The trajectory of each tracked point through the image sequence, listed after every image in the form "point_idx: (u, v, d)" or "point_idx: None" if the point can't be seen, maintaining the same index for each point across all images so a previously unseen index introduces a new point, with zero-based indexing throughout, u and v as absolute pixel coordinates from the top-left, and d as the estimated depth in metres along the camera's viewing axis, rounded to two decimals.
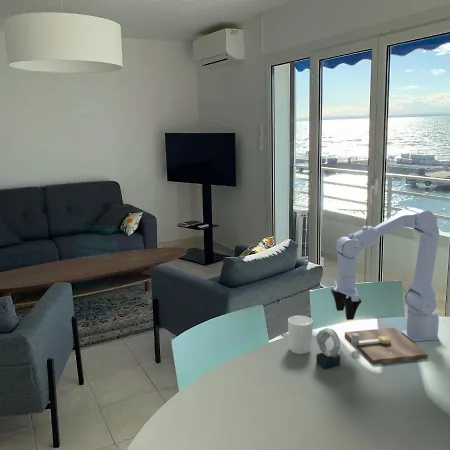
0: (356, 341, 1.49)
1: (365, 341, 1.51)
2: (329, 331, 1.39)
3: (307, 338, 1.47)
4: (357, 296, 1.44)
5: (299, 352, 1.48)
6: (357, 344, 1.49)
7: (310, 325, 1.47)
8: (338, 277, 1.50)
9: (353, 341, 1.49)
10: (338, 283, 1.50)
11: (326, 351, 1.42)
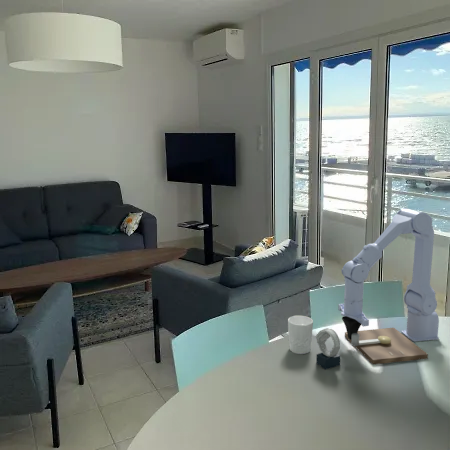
0: (356, 341, 1.49)
1: (365, 341, 1.51)
2: (329, 331, 1.39)
3: (307, 338, 1.47)
4: (367, 321, 1.44)
5: (299, 352, 1.48)
6: (357, 344, 1.49)
7: (310, 325, 1.47)
8: (346, 302, 1.49)
9: (353, 341, 1.49)
10: (346, 308, 1.49)
11: (326, 351, 1.42)
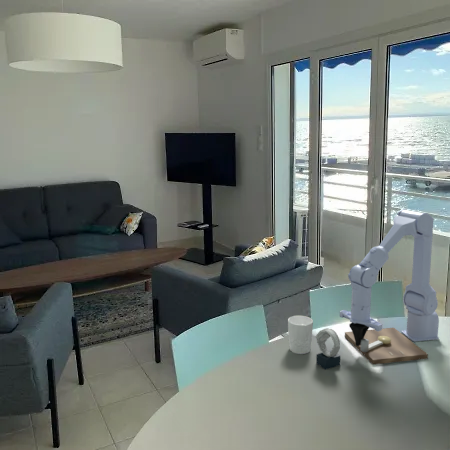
0: (367, 347, 1.45)
1: (371, 345, 1.48)
2: (329, 331, 1.39)
3: (307, 338, 1.47)
4: (381, 325, 1.41)
5: (299, 352, 1.48)
6: (368, 349, 1.45)
7: (310, 325, 1.47)
8: (356, 308, 1.43)
9: (364, 347, 1.45)
10: (356, 314, 1.44)
11: (326, 351, 1.42)
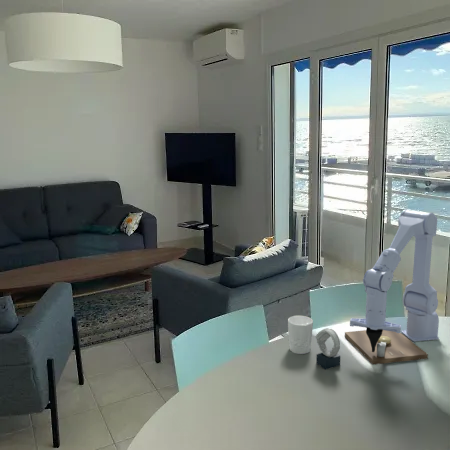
0: (384, 351, 1.42)
1: None
2: (329, 331, 1.39)
3: (307, 338, 1.47)
4: (400, 326, 1.40)
5: (299, 352, 1.48)
6: (384, 353, 1.43)
7: (310, 325, 1.47)
8: (376, 314, 1.38)
9: (382, 352, 1.42)
10: (376, 320, 1.39)
11: (326, 351, 1.42)
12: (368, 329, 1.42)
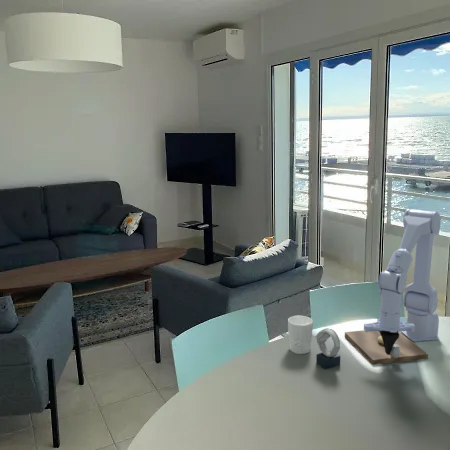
0: None
1: None
2: (329, 331, 1.39)
3: (307, 338, 1.47)
4: None
5: (299, 352, 1.48)
6: None
7: (310, 325, 1.47)
8: (394, 316, 1.37)
9: (398, 353, 1.41)
10: (394, 322, 1.37)
11: (326, 351, 1.42)
12: (384, 332, 1.40)
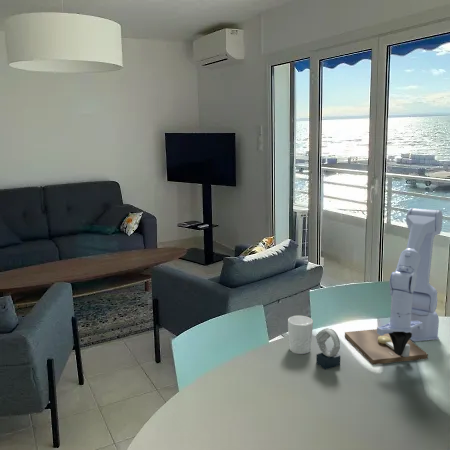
0: None
1: None
2: (329, 331, 1.39)
3: (307, 338, 1.47)
4: None
5: (299, 352, 1.48)
6: None
7: (310, 325, 1.47)
8: (408, 316, 1.37)
9: (409, 351, 1.42)
10: (407, 322, 1.37)
11: (326, 351, 1.42)
12: (397, 333, 1.39)
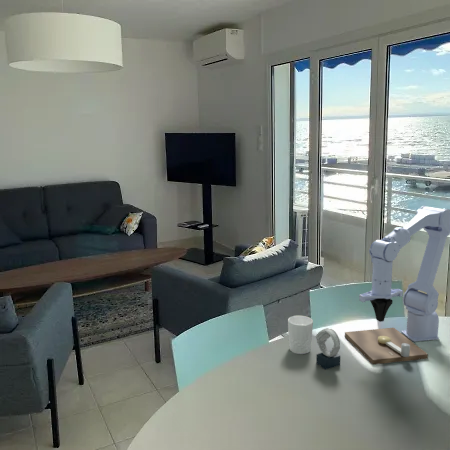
0: None
1: (398, 348, 1.46)
2: (329, 331, 1.39)
3: (307, 338, 1.47)
4: None
5: (299, 352, 1.48)
6: None
7: (310, 325, 1.47)
8: (388, 283, 1.43)
9: (409, 351, 1.42)
10: (388, 289, 1.43)
11: (326, 351, 1.42)
12: (378, 300, 1.45)
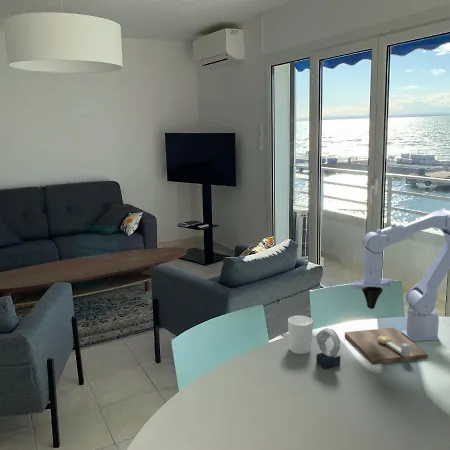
0: None
1: (398, 348, 1.46)
2: (329, 331, 1.39)
3: (307, 338, 1.47)
4: None
5: (299, 352, 1.48)
6: None
7: (310, 325, 1.47)
8: (378, 272, 1.53)
9: (409, 351, 1.42)
10: (378, 278, 1.53)
11: (326, 351, 1.42)
12: (369, 289, 1.55)
